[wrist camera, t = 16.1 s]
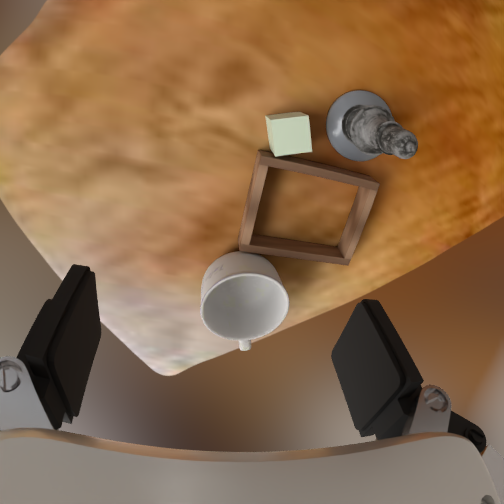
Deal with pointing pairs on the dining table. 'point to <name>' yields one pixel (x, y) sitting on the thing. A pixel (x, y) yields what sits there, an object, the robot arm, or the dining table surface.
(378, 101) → the slate coaster
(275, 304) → the teacup
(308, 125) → the sage block
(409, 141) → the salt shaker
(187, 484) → the robot arm
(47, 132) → the dining table surface
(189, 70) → the dining table surface
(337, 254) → the walnut corral
